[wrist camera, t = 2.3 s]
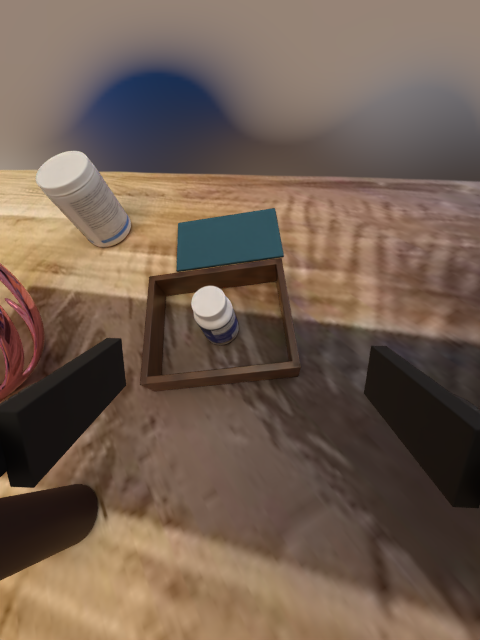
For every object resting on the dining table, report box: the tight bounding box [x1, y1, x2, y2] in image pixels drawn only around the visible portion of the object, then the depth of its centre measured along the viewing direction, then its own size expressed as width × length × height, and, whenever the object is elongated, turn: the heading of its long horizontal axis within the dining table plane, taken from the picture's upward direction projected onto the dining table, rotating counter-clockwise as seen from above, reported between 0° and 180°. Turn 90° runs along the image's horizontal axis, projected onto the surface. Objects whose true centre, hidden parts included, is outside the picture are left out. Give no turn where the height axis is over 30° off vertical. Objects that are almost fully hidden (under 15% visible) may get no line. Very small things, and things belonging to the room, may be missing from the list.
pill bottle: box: [191, 286, 239, 345], centre depth 40 cm, size 6×6×10 cm
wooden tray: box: [140, 258, 301, 391], centre depth 42 cm, size 22×18×5 cm
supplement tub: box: [36, 151, 131, 247], centre depth 51 cm, size 10×10×15 cm
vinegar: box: [0, 484, 98, 580], centre depth 27 cm, size 7×7×20 cm
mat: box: [177, 208, 284, 272], centre depth 52 cm, size 20×12×1 cm, turn 94°
